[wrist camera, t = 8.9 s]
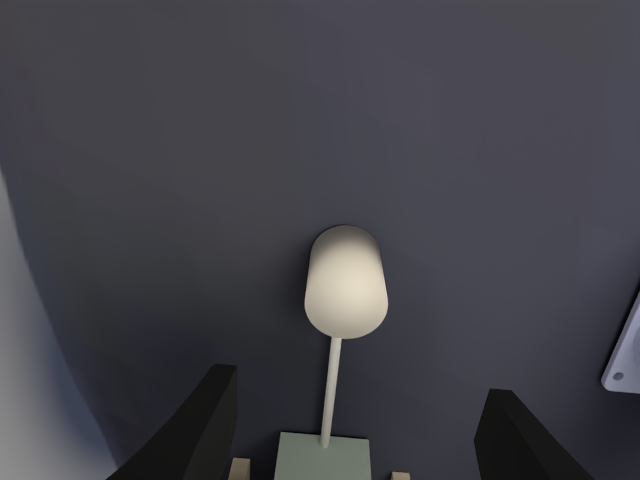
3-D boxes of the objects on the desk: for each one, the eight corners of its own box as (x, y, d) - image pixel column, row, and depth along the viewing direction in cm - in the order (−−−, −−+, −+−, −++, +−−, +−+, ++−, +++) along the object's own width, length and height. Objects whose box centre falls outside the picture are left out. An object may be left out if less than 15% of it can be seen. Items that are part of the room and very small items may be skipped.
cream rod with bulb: (292, 220, 21) (280, 276, 17) (404, 230, 21) (421, 288, 17) (277, 490, 29) (265, 578, 24) (358, 497, 29) (362, 587, 24)
